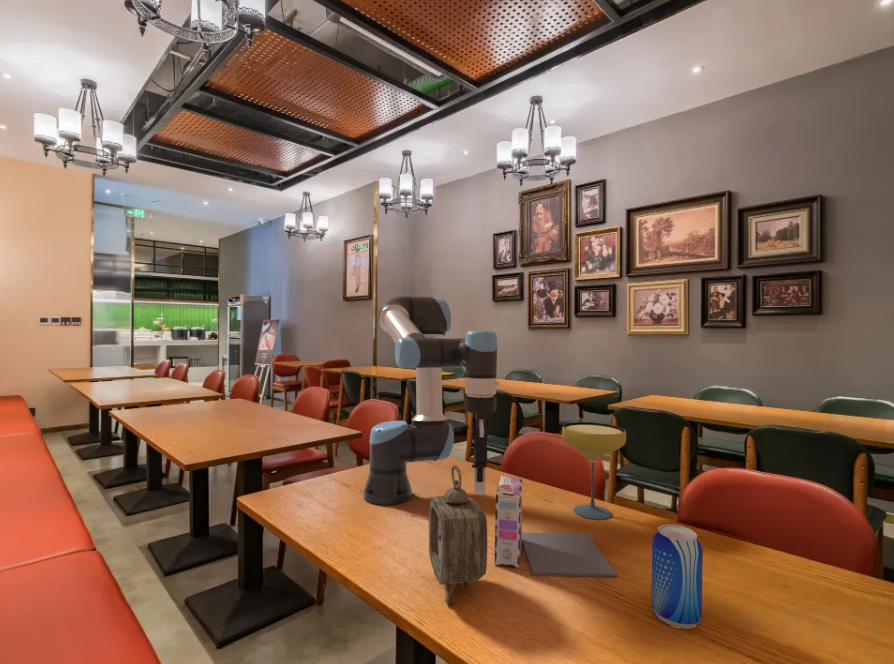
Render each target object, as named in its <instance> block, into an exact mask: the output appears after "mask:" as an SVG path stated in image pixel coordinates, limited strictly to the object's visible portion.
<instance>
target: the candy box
mask: <svg viewBox="0 0 894 664" xmlns="http://www.w3.org/2000/svg"><path fill="white" fill-rule="evenodd" d="M494 514H495V516H494V517H495V518H494V519H495V523H494V525H495V526H494V528H495V529H494V565H496V566H502V567H511V568H520V566H521V553H522V541H521V539H522V529H523V527H522V526H523V525H522V523H523V520H522V519H523V477H517V476H508V475H507V476H505V475H504V476H503V475H500V477H499V481H498V485H497V489H496V493H495V512H494Z"/></svg>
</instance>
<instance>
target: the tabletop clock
mask: <svg viewBox="0 0 894 664" xmlns="http://www.w3.org/2000/svg"><path fill="white" fill-rule="evenodd" d="M454 471H456V473H457V475H458V479H455V475H454V473H455V472H454ZM450 473H451V481H452V484H453V487H451V488H448V489H447V490H446V491H445V493H444V495H441V496H439V495H438V496H430V497H429V509H428V511H429V512H428V553H429V560H430V564H431V565H432V569H433V574H434V575H435V577H436V580H437V581H438V584H439V585H443V586H444V585H450V588H449V593H448V594H449V595H447V596H445V599H444V601H445V605H447V606H451V605H453V603H454V597H453V596H452V595H453V593H454V591H455V588H456V585H457V584H459V583H461V586H462V588H468V587H469V585H470V582H475V581H476V582H477V581H479V580H481V578H483V577H484V576H485V575H486V574H487V573H486V572H487V569H488V568H487V566H488V521H487V516H486V514H485V512H484V510H483V509H482V507H481V506H480V504H479V503H478V502H477V501H476V500H475V498H472V497H471V496H468V493H467V492H466V491H465V490H464V488H461V487H462V473H461V470H460V468H459V466H457V465H456V464H453V465H452V467H451V472H450Z"/></svg>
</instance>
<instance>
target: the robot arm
mask: <svg viewBox="0 0 894 664" xmlns="http://www.w3.org/2000/svg"><path fill="white" fill-rule="evenodd" d="M377 313H378V314H377V321H378V324H379V326H380V328H381V329H382V331H384V332H385V333H387V334H389V335H390V338H391V339H392V340H393V343H395V344H394V345H395V346H394V359H395V363H396V366H397V367H399V368H403V369H404V368H405V369H407V368H408V369H410V370H411V369H413V370H414V369H415V380H416V382H415V387H416V388H415V391H416V394H415V395H416V406H415V407H416V414H415V416H414V417H413V418H412V419H411V425H410V424H408V423H407V421H405V420H390V421H384V422H381V423H378V424H376V425H374V426H373V427H372V428H371V430H370V436H369V473H368V476H367V479H366V483H365V486H364V489H363V500H364V501H366V502H368V503H370V504H373V505H382V506H389V505H390V506H391V505H398V504H402V503H406V502H408V501H409V500H410V499H411V498H412V495H413V494H412V492H413V491H412V486H411V483H410V479H409V476H408V473H407V463H418V462H420V463H421V462H431V461H432V462H437V461H441V460H446V459H448V457H450V455H451V454H452V451H453V447H454V443H455V442H454V441H455V438H454V437H455V435H454V434H455V432H454V428H453V425H452V424H451V423H449V422H448V418H447V416H445V414H443V380H442V379H443V377H442V375H443V374H442V373H443V372H442V368H443V369H445V368H446V369H447V368H448V369H449V368H456V369H457V368H459V369H460V368H463V369H465V373H464V374H465V376H464V394H466V395H465V396H464V411H465V412H466V413H470V414H474V417H473V418H471V425H472V426H471V427H472V437H473V464H471V468H473V495H474V496H486V468H487V466H488V461H487V443H488V442H487V441H488V438H489V427H490V420H489V418H487V416H486V415H487V414H493V413H496V411H497V397H496V396H495V395H496V394H497V386H499V385H500V382H499V381H497V371H498V369H497V366H498V339H497V338H498V336H497V333H496V332H495V331H493V330H468V331H467V332H466V334H465V337H463V338H462V337H461V338H459V337H458V338H453V337H452V338H446V333H447V332H450V330H451V327H452V325H451V324H452V314H451V309H450V305H449V304H448V302H447V301H446V300H445V299H444V298H441V297H433V296H408V295H402V296H395V297H393V298H389V299H388V300H386V301H385V303H383V304H382V306H381V307H380V308H379V310H378V312H377Z"/></svg>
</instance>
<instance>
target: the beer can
mask: <svg viewBox="0 0 894 664" xmlns="http://www.w3.org/2000/svg"><path fill="white" fill-rule="evenodd" d="M651 544H652V545H651V546H652V547H651V597H650V598H651V601H650V602H651V603H650V604H651V608H652V610H653V612H654V613H655V616H656V617H657V618H658V619H659V620H660V621H661V622H662V621H663V622H662V623H664V622H665V623H667V624H669V625H672V626H675V627H679V628H691V627H694V626H695V627H696V626H697V625H698V624H699V623H700V622H701V621H702V618H703V565H704V564H703V562H704V561H703V559H704V558H703V554H704V553H703V551H704V549H703V546H702V544H701V543H700V541H699V540H698V534H697V533H696V531H694V530H692V529H691V528H688V527H686V526H682V525H678V524H662V525H659V526H658V527H657V531H656V532H655V534H654V536H653V537H652V541H651ZM665 623H664V624H665ZM667 624H666V625H667ZM669 625H668V626H669ZM672 626H671V627H672ZM675 627H674V628H675ZM695 627H694V628H695ZM679 628H678V629H679Z"/></svg>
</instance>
